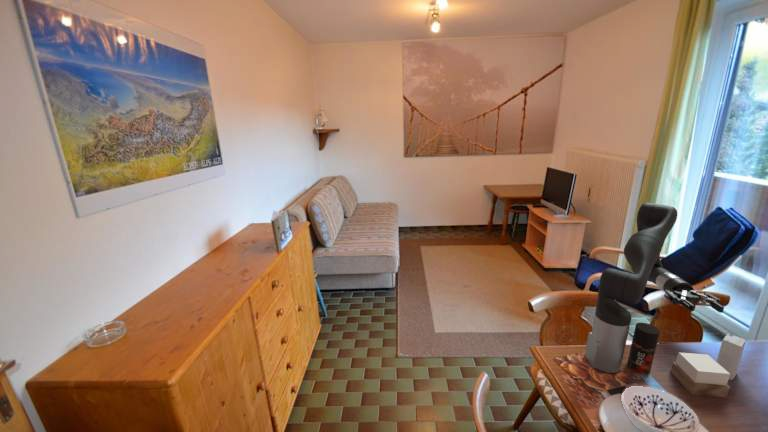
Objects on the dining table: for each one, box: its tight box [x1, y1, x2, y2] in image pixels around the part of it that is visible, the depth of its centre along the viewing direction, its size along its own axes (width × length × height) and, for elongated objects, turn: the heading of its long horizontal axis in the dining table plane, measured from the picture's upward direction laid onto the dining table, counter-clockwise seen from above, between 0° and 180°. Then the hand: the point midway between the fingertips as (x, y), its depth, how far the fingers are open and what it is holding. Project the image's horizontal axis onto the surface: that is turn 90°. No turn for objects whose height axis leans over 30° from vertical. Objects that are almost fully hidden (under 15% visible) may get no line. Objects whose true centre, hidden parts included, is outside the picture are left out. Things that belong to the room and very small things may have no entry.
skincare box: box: [716, 333, 747, 381], centre depth 100 cm, size 6×4×12 cm
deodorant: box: [626, 322, 661, 376], centre depth 102 cm, size 6×6×15 cm
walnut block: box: [669, 361, 731, 398], centre depth 97 cm, size 9×9×4 cm
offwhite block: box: [675, 352, 730, 385], centre depth 96 cm, size 8×8×4 cm
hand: (707, 309), depth 108 cm, fingers open, 8 cm apart
